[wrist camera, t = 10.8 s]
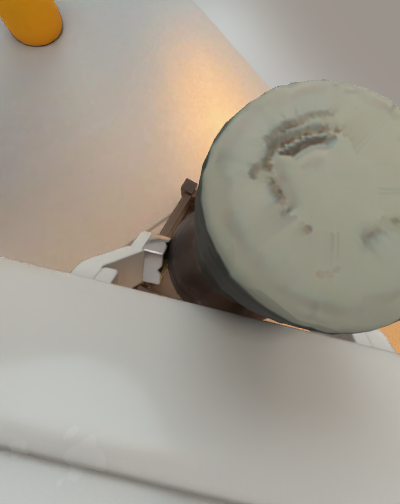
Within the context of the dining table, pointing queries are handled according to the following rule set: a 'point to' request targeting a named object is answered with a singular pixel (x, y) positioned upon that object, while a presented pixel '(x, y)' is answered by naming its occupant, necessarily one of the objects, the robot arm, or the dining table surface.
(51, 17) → the beer bottle
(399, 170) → the sauce bottle
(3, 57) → the dining table surface
